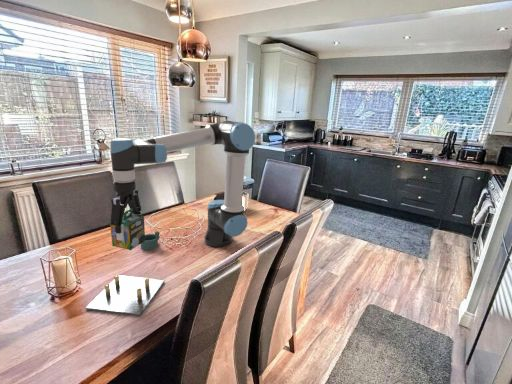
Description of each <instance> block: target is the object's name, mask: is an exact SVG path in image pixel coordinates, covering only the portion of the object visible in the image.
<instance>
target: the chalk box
mask: <svg viewBox="0 0 512 384" xmlns="http://www.w3.org/2000/svg"><path fill="white" fill-rule="evenodd" d="M132 211H133V208H132V209H130V208H129V209H128V210H125V211H124V216H123V220H122V224H123V227H124V239H125V240H124V241H121V240H117V236H116V229H115V226H114V225H111V219H110V220H109V227H110V234H111V235H110V236H111V244H112V246H111V247H116V248H120V249H124V250H129V251H132V250H133V249H136V247H138V246H141V243H143V242H145V235H146V232H145V231H146V230H145V215H141V214H133V213H132Z"/></svg>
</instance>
